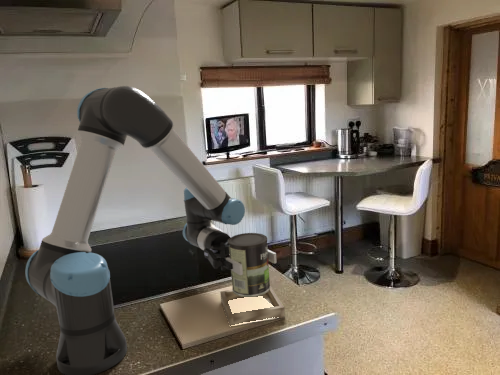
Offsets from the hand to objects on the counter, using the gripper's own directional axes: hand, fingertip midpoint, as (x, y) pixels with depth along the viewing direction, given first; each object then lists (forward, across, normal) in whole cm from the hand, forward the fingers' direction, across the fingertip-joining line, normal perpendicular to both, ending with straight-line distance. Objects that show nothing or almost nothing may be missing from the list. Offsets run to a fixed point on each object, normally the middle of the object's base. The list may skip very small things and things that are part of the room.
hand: (258, 264), depth 108 cm
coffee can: (-4, 0, -9) cm, 10 cm away
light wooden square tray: (-4, 0, -14) cm, 15 cm away
